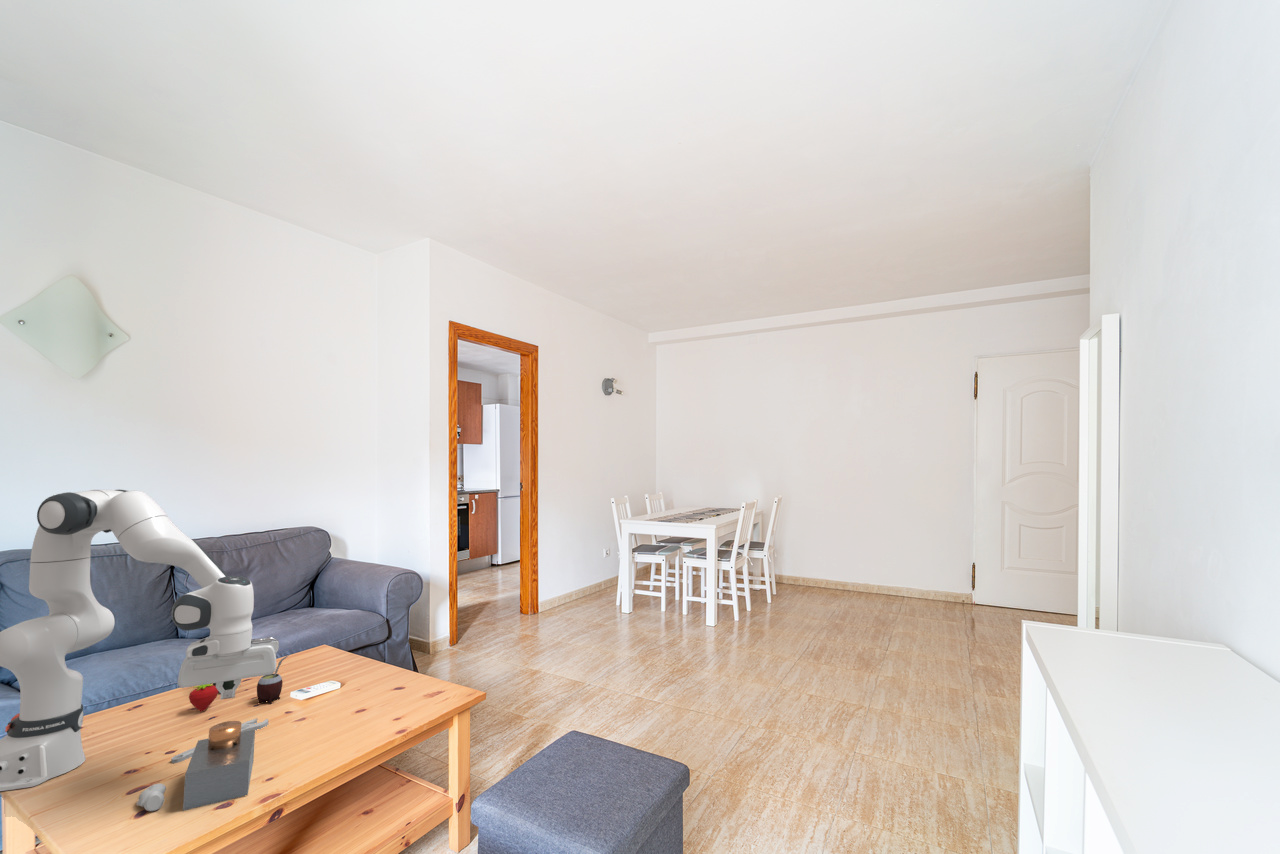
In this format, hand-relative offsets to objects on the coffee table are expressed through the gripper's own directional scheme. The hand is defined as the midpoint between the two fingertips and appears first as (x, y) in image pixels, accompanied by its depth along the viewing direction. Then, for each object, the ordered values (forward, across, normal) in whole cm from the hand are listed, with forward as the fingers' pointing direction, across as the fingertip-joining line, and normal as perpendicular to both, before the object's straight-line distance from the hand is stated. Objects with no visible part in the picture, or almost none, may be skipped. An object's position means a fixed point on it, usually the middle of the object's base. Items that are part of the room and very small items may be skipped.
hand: (227, 698), depth 143 cm
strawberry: (+19, +10, -49) cm, 54 cm away
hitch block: (+19, 0, +4) cm, 19 cm away
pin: (+18, 0, 0) cm, 18 cm away
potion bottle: (+19, +6, -66) cm, 69 cm away
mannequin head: (+19, +13, +7) cm, 24 cm away
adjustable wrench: (+20, +3, -23) cm, 30 cm away
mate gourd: (+19, -8, -48) cm, 52 cm away
